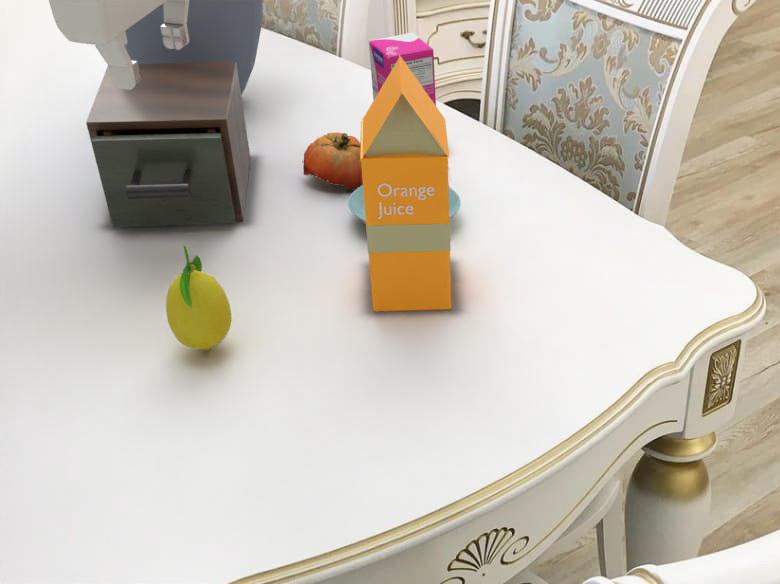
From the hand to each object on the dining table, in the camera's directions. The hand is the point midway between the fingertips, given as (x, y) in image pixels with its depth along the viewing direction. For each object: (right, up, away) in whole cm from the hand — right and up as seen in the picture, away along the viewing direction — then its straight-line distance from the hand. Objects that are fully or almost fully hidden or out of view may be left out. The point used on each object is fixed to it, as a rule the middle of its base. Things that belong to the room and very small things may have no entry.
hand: (153, 65), depth 94 cm
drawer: (-5, -2, +25) cm, 25 cm away
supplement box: (+18, +10, +38) cm, 43 cm away
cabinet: (-6, +1, +29) cm, 29 cm away
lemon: (+3, -22, +7) cm, 24 cm away
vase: (-8, +18, +45) cm, 50 cm away
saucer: (+19, -4, +25) cm, 32 cm away
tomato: (+11, +4, +32) cm, 34 cm away
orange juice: (+21, -14, +15) cm, 29 cm away
